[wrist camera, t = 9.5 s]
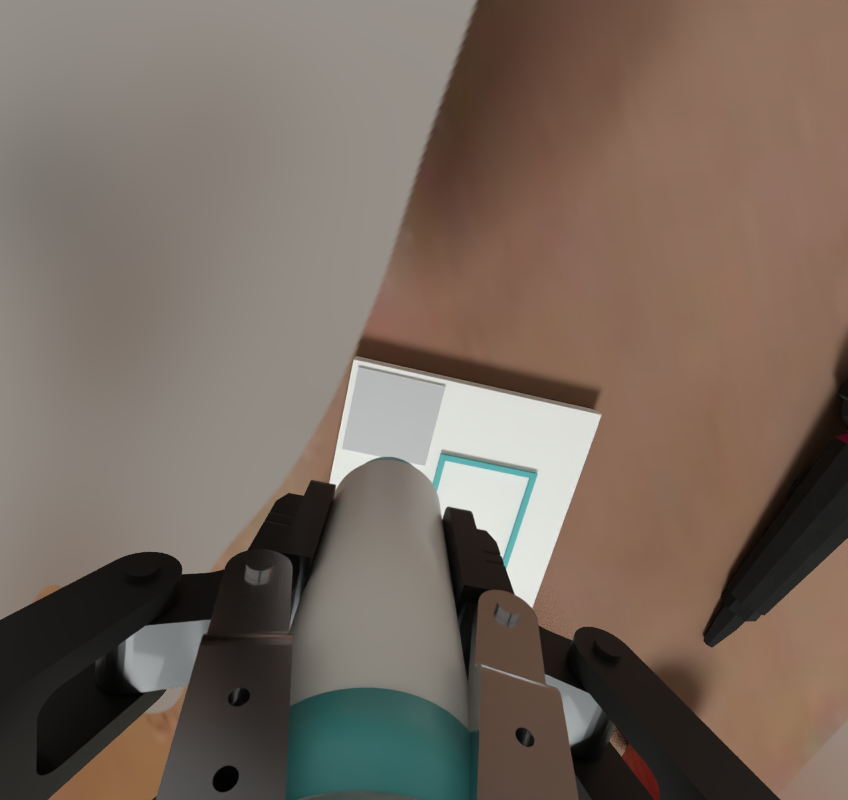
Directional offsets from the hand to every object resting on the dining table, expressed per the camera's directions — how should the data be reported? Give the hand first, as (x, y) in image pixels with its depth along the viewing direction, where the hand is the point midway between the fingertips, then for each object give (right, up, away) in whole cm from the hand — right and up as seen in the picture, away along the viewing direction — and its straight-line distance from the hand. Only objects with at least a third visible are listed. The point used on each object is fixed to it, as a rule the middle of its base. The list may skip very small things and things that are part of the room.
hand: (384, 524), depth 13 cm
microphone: (+22, -2, +13) cm, 26 cm away
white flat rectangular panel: (+2, -3, +12) cm, 13 cm away
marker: (0, +1, +2) cm, 2 cm away
